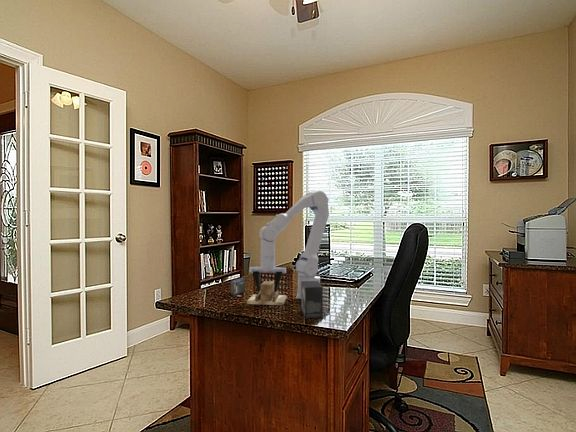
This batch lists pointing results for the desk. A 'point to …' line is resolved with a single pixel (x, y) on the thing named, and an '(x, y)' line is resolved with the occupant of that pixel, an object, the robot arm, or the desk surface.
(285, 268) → the robot arm
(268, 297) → the rail end block
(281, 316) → the desk surface
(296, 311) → the desk surface
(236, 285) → the mini dv tape
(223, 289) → the desk surface
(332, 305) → the desk surface
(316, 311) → the small box
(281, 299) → the post slot base
